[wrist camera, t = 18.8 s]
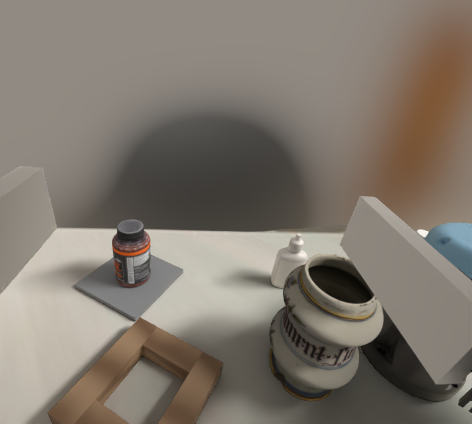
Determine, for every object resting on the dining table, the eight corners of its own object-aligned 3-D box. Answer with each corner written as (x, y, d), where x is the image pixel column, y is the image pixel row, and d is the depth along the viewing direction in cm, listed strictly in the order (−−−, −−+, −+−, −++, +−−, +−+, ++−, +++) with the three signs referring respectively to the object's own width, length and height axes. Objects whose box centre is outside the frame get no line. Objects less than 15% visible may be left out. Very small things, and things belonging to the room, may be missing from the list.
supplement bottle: (111, 272, 49) (105, 220, 43) (143, 261, 53) (141, 212, 47) (122, 294, 45) (117, 240, 40) (156, 281, 49) (155, 229, 43)
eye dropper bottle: (294, 295, 51) (312, 246, 45) (267, 283, 53) (280, 234, 47) (300, 282, 55) (317, 234, 49) (274, 271, 57) (287, 224, 51)
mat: (131, 248, 57) (130, 245, 56) (182, 272, 53) (183, 269, 52) (75, 288, 46) (74, 284, 46) (135, 321, 42) (135, 318, 42)
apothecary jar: (245, 356, 40) (269, 264, 31) (294, 316, 47) (325, 233, 38) (313, 434, 32) (371, 343, 23) (358, 372, 40) (415, 285, 31)
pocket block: (140, 328, 41) (140, 317, 40) (221, 373, 37) (223, 363, 36) (52, 423, 30) (47, 413, 29) (154, 504, 26) (153, 496, 24)
